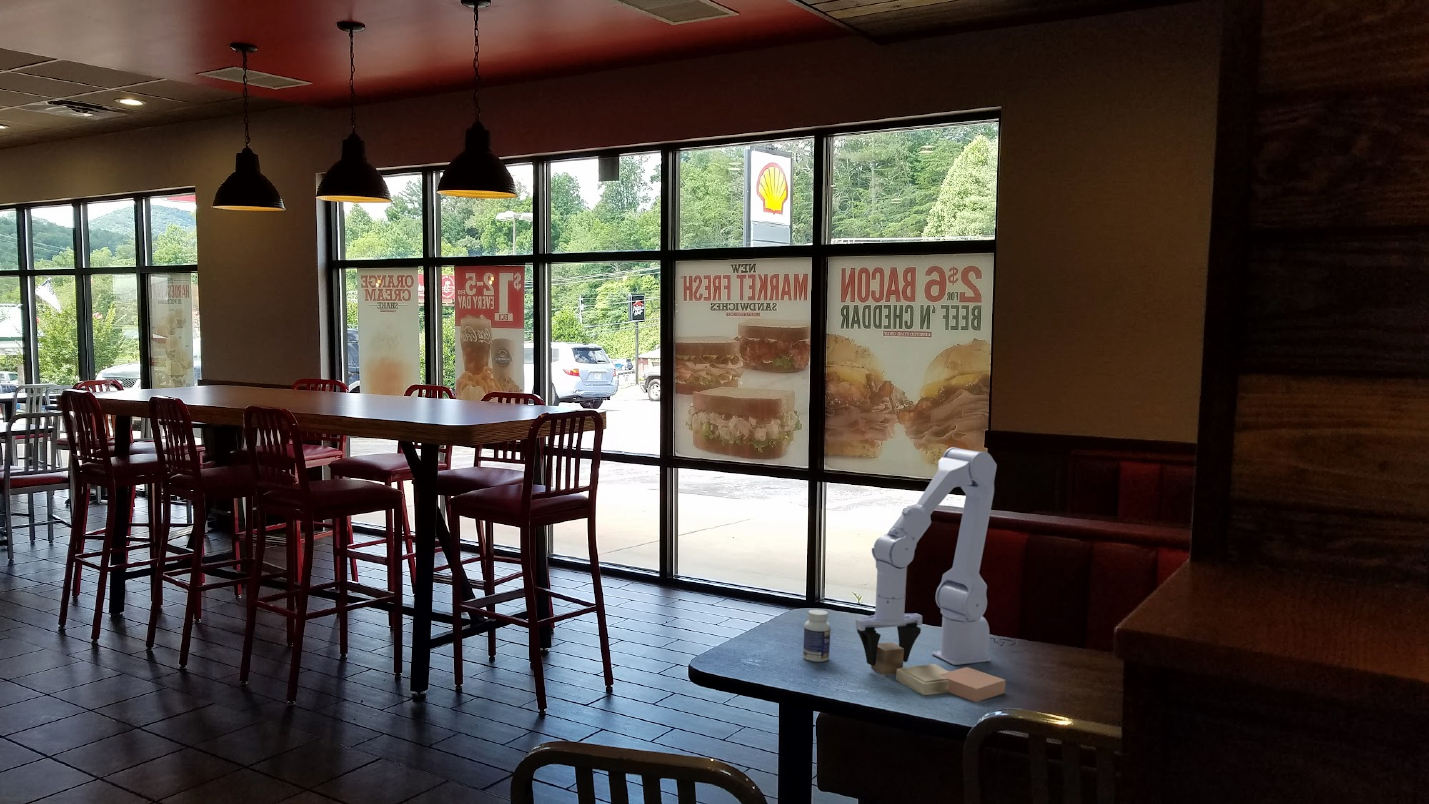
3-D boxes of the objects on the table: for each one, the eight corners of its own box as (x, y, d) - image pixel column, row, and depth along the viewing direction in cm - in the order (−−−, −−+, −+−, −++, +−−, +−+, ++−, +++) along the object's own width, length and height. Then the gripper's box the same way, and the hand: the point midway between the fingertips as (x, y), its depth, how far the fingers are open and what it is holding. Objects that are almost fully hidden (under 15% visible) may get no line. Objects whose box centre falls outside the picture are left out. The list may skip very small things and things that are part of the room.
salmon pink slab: (966, 679, 199) (966, 666, 199) (1004, 692, 192) (1005, 680, 192) (936, 687, 193) (937, 675, 193) (975, 702, 186) (976, 688, 186)
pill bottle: (827, 663, 205) (830, 616, 205) (801, 661, 206) (803, 614, 206) (830, 655, 211) (832, 609, 210) (804, 653, 212) (806, 607, 211)
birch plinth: (934, 675, 201) (934, 663, 201) (962, 690, 192) (963, 677, 192) (896, 679, 197) (896, 667, 197) (923, 695, 189) (924, 682, 189)
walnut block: (889, 666, 206) (891, 642, 205) (902, 673, 202) (903, 648, 201) (871, 668, 204) (872, 644, 203) (883, 675, 200) (884, 650, 199)
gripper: (909, 588, 208) (905, 653, 209) (848, 593, 202) (845, 659, 203) (929, 596, 202) (926, 663, 203) (867, 602, 196) (864, 670, 197)
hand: (887, 662), depth 203 cm, fingers open, 7 cm apart
